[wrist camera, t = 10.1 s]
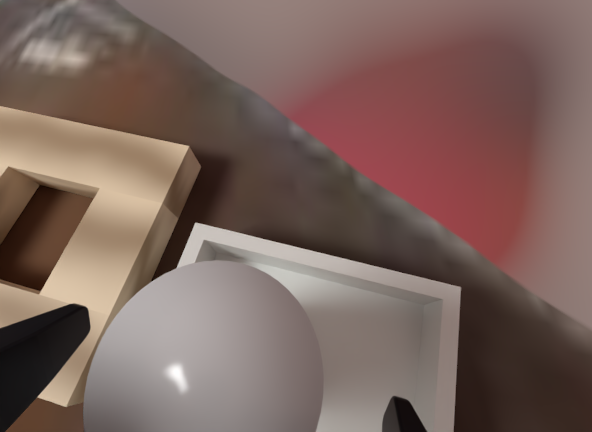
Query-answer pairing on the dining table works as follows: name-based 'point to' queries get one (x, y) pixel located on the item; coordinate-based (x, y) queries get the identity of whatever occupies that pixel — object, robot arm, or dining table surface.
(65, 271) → the socket block
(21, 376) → the robot arm
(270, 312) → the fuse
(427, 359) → the tray
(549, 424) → the dining table surface
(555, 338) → the dining table surface
